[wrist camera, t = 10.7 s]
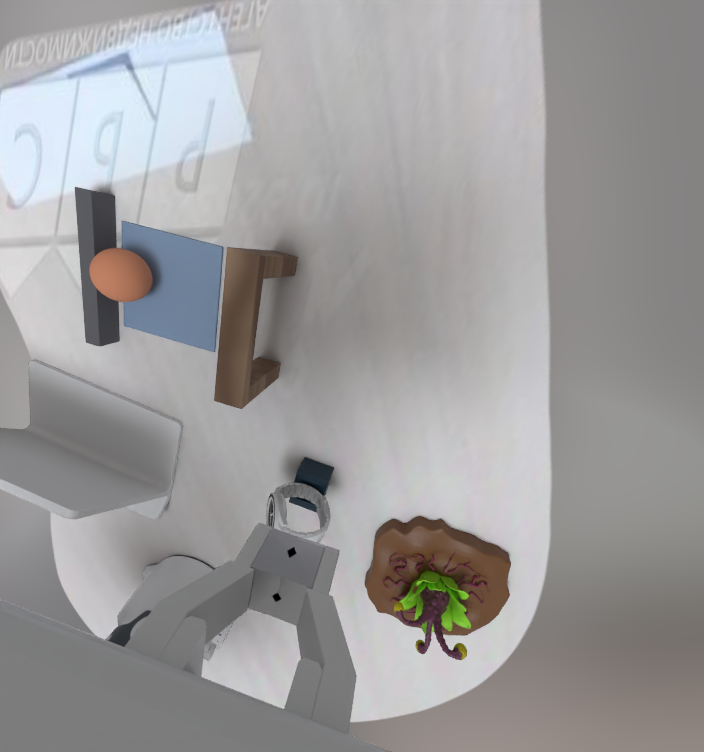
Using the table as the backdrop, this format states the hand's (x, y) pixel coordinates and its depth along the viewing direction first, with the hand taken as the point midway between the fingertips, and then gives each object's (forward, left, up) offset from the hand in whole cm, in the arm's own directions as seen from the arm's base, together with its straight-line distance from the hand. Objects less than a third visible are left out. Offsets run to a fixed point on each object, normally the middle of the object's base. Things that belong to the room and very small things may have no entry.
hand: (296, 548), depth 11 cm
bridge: (0, +13, -29) cm, 32 cm away
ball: (+1, +31, -26) cm, 41 cm away
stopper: (0, +36, -29) cm, 46 cm away
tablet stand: (-26, +38, -30) cm, 55 cm away
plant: (-31, -17, -30) cm, 46 cm away
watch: (-21, +4, -29) cm, 36 cm away
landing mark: (0, +27, -29) cm, 40 cm away
